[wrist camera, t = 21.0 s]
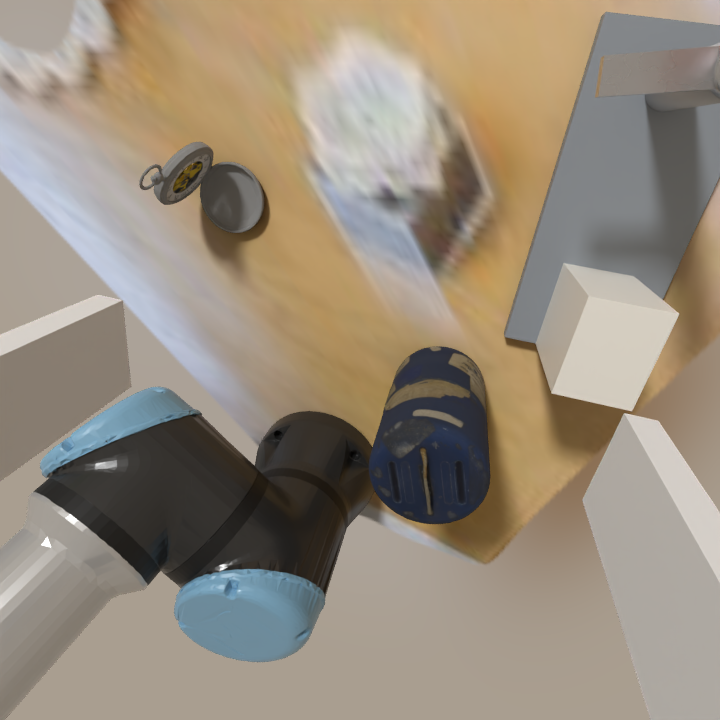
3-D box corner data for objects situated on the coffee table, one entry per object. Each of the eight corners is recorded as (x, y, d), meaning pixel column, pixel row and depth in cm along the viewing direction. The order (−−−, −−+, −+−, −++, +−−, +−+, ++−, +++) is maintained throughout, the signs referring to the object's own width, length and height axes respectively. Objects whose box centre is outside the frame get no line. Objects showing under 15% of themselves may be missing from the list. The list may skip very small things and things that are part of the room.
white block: (599, 357, 44) (631, 411, 35) (535, 343, 45) (551, 393, 36) (633, 276, 40) (679, 313, 31) (563, 263, 41) (588, 296, 32)
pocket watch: (264, 236, 47) (216, 258, 38) (189, 221, 48) (126, 239, 40) (269, 150, 44) (217, 152, 35) (187, 135, 45) (117, 134, 36)
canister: (390, 410, 53) (356, 525, 37) (401, 334, 49) (367, 427, 33) (475, 426, 51) (477, 553, 35) (493, 349, 47) (505, 455, 31)
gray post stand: (628, 358, 45) (675, 422, 34) (503, 332, 46) (513, 385, 36) (776, 36, 33) (910, -11, 23) (601, 15, 34) (655, -37, 24)
